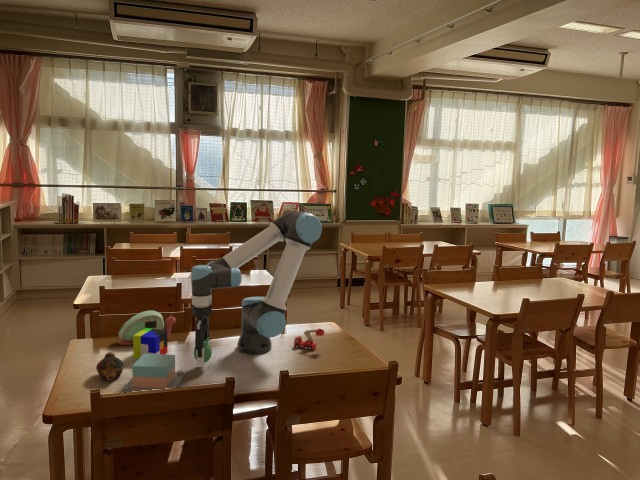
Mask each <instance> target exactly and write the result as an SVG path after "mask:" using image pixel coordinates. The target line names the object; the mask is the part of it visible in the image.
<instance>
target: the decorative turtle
mask: <svg viewBox="0 0 640 480" xmlns="http://www.w3.org/2000/svg"><path fill="white" fill-rule="evenodd" d="M124 365H125V364H124V362H123V360H121V358H118V357H116V355H115V353H114V352H112V351H108V352H107V353H105V355H104V357H103V358H102V359H100V360H99V361H98V362H97V365H96V371H97V373H98V375H99V376H100V379H101V380H103V381H105V380H106V379H107V381H113V380H115V378H116V379H118V378H120V377H121V375H122V373H123V370H124V368H125V366H124Z"/></svg>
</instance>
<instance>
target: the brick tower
mask: <svg viewBox="0 0 640 480" xmlns="http://www.w3.org/2000/svg"><path fill="white" fill-rule="evenodd" d="M131 368H132V370H131V371H132V378H131V379H130V380H129V381H128V382H127V383H126V384H125V385H124V386H123V388H122V389H121V391H120V392H132V391H141V390H152V389H165V388H176V387H177V388H178V386H179V384H180V383H181V381H182V380H183V378H184V377H185V375H186V371H184V370H182V369H180V370H177V371H176V354H165V355H164V354H143V355H142V356H141V357H140V358H139V359H137V360H135V362H134V364H132V367H131ZM177 388H176V389H177Z"/></svg>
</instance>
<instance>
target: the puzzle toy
mask: <svg viewBox="0 0 640 480" xmlns="http://www.w3.org/2000/svg"><path fill="white" fill-rule="evenodd" d="M132 345H133V348H132V349H133V359H135V360H136V359H137V360H138V359H139V358H140V357H141V356H142V355H143V354H164V355H167V353H169V352H168V339H167V330H160V329H151V328H145V329H143V330H142V331H140V332H138V333H136V334H135V335H133V344H132Z"/></svg>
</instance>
